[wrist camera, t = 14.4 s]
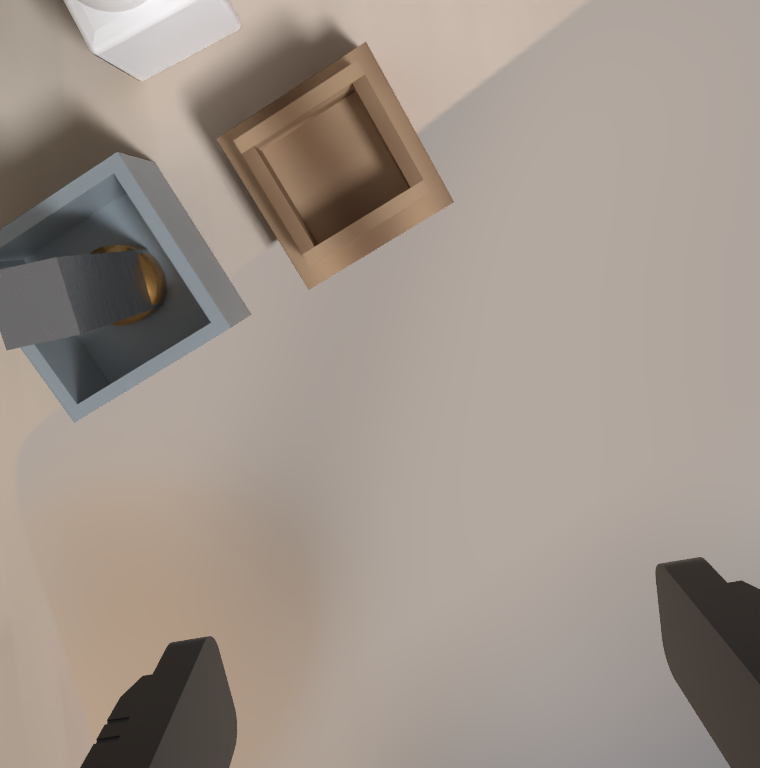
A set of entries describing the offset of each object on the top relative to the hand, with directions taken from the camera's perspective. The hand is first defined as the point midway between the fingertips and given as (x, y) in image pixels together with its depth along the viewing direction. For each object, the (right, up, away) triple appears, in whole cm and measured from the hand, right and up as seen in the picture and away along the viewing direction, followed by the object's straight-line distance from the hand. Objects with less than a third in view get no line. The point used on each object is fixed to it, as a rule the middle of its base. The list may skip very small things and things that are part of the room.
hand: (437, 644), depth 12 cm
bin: (-17, +11, +32) cm, 38 cm away
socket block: (-4, +18, +30) cm, 35 cm away
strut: (-17, +11, +31) cm, 37 cm away
